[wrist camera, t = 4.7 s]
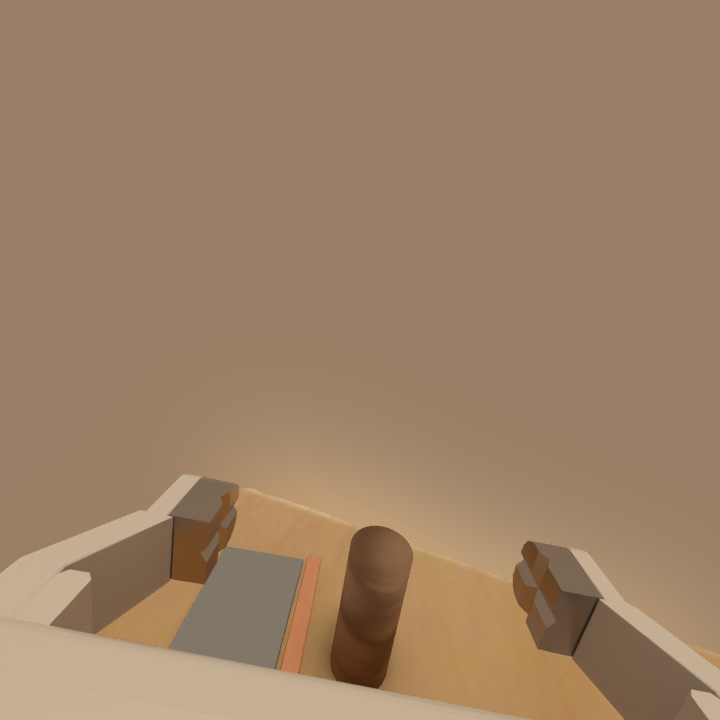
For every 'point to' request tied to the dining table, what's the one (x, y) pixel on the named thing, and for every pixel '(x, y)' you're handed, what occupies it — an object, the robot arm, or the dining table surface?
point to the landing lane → (251, 610)
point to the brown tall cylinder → (370, 605)
